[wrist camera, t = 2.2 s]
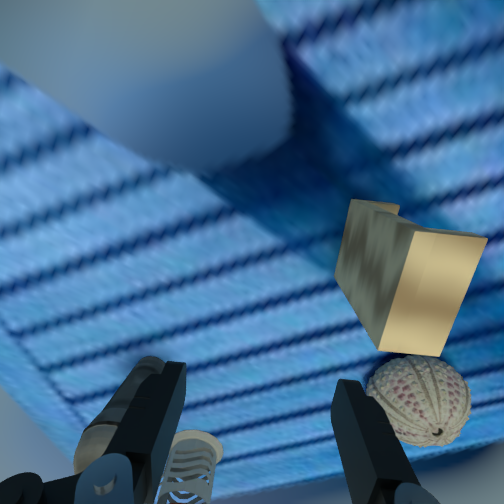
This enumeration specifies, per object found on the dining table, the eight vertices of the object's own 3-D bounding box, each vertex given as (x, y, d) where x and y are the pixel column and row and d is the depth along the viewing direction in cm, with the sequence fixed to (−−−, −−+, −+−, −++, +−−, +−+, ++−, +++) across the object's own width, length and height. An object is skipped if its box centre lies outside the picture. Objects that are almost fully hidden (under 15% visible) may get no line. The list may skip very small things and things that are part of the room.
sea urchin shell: (430, 421, 43) (466, 478, 36) (347, 406, 43) (366, 461, 35) (469, 355, 39) (519, 404, 31) (377, 338, 38) (406, 383, 31)
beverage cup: (153, 340, 39) (54, 511, 21) (186, 373, 41) (123, 557, 22) (118, 363, 41) (-3, 540, 22) (151, 393, 43) (65, 581, 24)
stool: (351, 198, 32) (415, 231, 18) (393, 203, 32) (488, 238, 18) (334, 276, 35) (377, 350, 22) (372, 280, 35) (439, 356, 22)
